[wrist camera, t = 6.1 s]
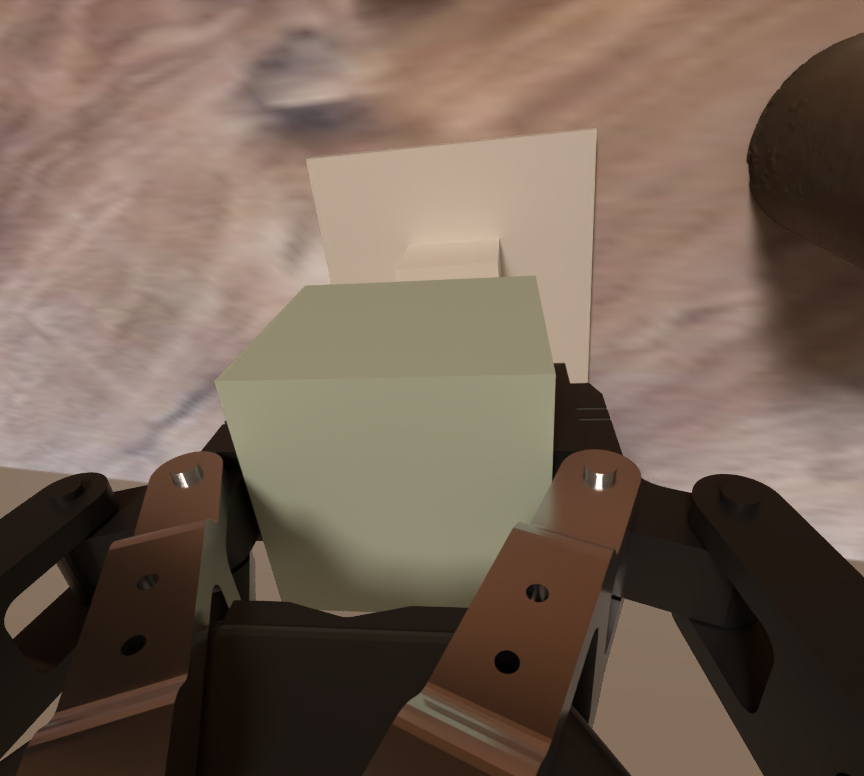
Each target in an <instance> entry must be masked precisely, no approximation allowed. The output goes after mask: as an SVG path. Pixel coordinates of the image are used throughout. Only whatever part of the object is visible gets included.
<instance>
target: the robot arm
mask: <svg viewBox="0 0 864 776" xmlns="http://www.w3.org/2000/svg"><path fill="white" fill-rule="evenodd" d="M554 368H555V373H556V379H555V409H554V438H553V467H552V483H551V485H550V487H549V489H548V491H547V493H546V495H545V496H544V498H543V500H542V502H541V504H540V506H539V508H538V510H537V512H536V514H535V516H534V518H533V520H532V522H531V523H530V525H529V524H526V523H523V522H518V523H517V524H516V525H515V526H514V527H513V529H512V530H511V532H510V534H509V536H508V537H507V539H506V541H505V543H504V545H503V547H502V548H501V550H500V552H499V554H498V556H497V557H496V559H495V561H494V563H493V565H492V566H491V568H490V570H489V572H488V574H487V575H486V577H485V579H484V581H483V583H482V585H481V586H480V588H479V590H478V592H477V594H476V595H475V597H474V599H473V601H472V603H471V604H470V606H469V608H462V607H431V606H408V607H403V608H397V609H392V610H387V611H381V612H376V613H371V614H365V615H360V616H355V617H340V616H337V615H333V614H330V613H326V612H323V611H319V610H316V609H313V608H309V607H306V606H302V605H299V604H295V603H292V602H277V601H256V598H255V597H256V593H255V558H254V556H253V552H252V547H253V546H254V544H255V542H256V541H263V538H262V535H261V532H260V529H259V525H258V522H257V519H256V516H255V512H254V509H253V506H252V503H251V499H250V496H249V493H248V490H247V486H246V483H245V480H244V477H243V473H242V470H241V467H240V464H239V460H238V457H237V454H236V451H235V447H234V444H233V441H232V438H231V434H230V431H229V428H228V425H227V421H225V424H223V425H222V426H221V427H220V428H219V430H218V431H217V432H216V433H215V435H214V436H213V437H212V438H211V440H210V441H209V442H208V443H207V444H206V446H205V447H204V448H203V449H202V451H200V452H192V453H187V454H184V455H181V456H178V457H176V458H173V459H171V460H169V461H167V462H166V463H164V464H163V465H161V466H160V467H159V468H158V469H156V471H155V472H154V473H153V474H152V475H151V477H150V480H149V483H148V485H146V486H141V487H136V488H131V489H126V490H121V491H116V492H113V491H112V488H111V486H110V484H109V482H108V480H107V478H106V477H105V476H104V475H102V474H100V473H93V472H91V473H80V474H76V475H72V476H69V477H66V478H63V479H61V480H58V481H56V482H54V483H52V484H50V485H48V486H47V487H45V488H44V489H42V490H41V491H39V492H38V493H36V494H35V495H34V496H32V497H31V498H29V499H28V500H27V501H25V502H24V503H22V504H21V505H20V506H18V507H17V508H15V509H14V510H12V511H11V512H10V513H8V514H7V515H5V516H4V517H3V518H1V519H0V759H1V758H2V757H3V755H4V754H5V753H6V752H7V751H8V750H9V749H10V748H11V747H12V745H13V744H14V743H15V742H16V741H17V740H18V739H19V738H20V737H21V736H22V735H23V734H24V733H25V731H26V730H27V729H28V728H29V727H30V726H31V725H32V724H33V723H34V722H35V721H36V719H37V718H38V717H39V716H40V715H41V714H42V713H43V712H44V711H45V710H46V708H47V707H48V706H49V705H50V704H51V703H52V702H53V701H54V700H55V699H56V698H57V697H58V695H59V694H60V693H61V692H62V693H61V697H60V699H59V703H58V706H57V709H56V711H55V714H54V716H53V718H52V719H51V720H50V722H49V723H48V724H47V725H45V726H43V727H42V728H40V729H39V730H38V731H37V732H36V733H35V734H34V736H33V737H32V739H31V740H30V741H28V742H27V743H25V744H24V745H23V746H21V747H20V748H18V749H17V750H16V751H14V752H13V753H12V754H10V755H9V756H7V757H6V758H5V759H3V760H2V761H0V776H631V775H630V774H629V772H628V771H627V770H626V769H625V768H624V766H623V765H622V764H621V763H620V762H619V761H618V759H617V758H616V757H615V756H614V755H613V753H612V752H611V751H610V750H609V749H608V747H607V746H606V745H605V744H604V743H603V741H602V740H601V739H600V738H599V737H598V735H597V734H596V733H595V732H594V731H593V729H592V728H593V724H594V719H595V715H596V711H597V706H598V702H599V697H600V691H601V686H602V681H603V676H604V672H605V668H606V664H607V660H608V657H609V653H610V649H611V645H612V642H613V638H614V634H615V631H616V628H617V624H618V620H619V616H620V613H621V609H622V606H623V602H624V598H625V599H629V600H632V601H635V602H639V603H642V604H646V605H649V606H652V607H656V608H659V609H662V610H666V611H669V612H671V613H672V616H673V618H674V620H675V622H676V624H677V626H678V628H679V629H680V631H681V633H682V635H683V636H684V638H685V640H686V641H687V643H688V645H689V647H690V648H691V650H692V652H693V654H694V655H695V657H696V659H697V661H698V662H699V664H700V666H701V668H702V669H703V671H704V673H705V674H706V676H707V678H708V680H709V682H710V683H711V685H712V687H713V688H714V690H715V692H716V694H717V695H718V697H719V698H720V701H721V702H722V704H723V706H724V708H725V709H726V711H727V713H728V715H729V716H730V718H731V720H732V721H733V723H734V725H735V727H736V728H737V730H738V732H739V734H740V735H741V737H742V739H743V741H744V742H745V744H746V746H747V748H748V749H749V751H750V753H751V754H752V756H753V758H754V760H755V761H756V763H757V765H758V767H759V768H760V770H761V772H762V773H763V775H764V776H864V577H863V576H862V575H861V574H860V573H859V572H858V571H857V570H856V569H855V568H854V567H853V566H852V565H851V564H850V563H849V562H848V561H847V560H846V559H845V558H844V557H843V556H842V555H841V554H840V553H839V552H837V551H836V550H835V549H834V548H833V547H832V546H831V545H830V544H829V543H828V542H827V541H826V540H825V539H824V538H823V537H822V536H821V535H820V534H819V533H818V532H817V531H816V530H815V529H814V528H813V527H812V526H811V525H810V524H809V523H808V522H807V521H806V520H805V519H804V518H803V517H802V516H801V515H800V514H799V513H798V512H797V511H796V510H795V509H794V508H793V507H792V506H791V505H790V504H788V503H787V502H786V501H785V500H784V499H783V498H782V497H781V496H780V495H779V494H778V493H777V492H776V491H774V490H773V489H771V488H770V487H768V486H767V485H765V484H763V483H761V482H758V481H756V480H753V479H750V478H747V477H743V476H738V475H731V474H716V475H710V476H707V477H704V478H702V479H700V480H699V481H698V482H696V483H695V485H694V487H693V490H692V493H689V492H684V491H679V490H675V489H670V488H666V487H662V486H658V485H655V484H653V483H650V482H648V481H646V480H644V479H642V478H641V473H640V470H639V468H638V467H637V466H636V465H635V464H634V463H633V462H632V461H631V460H629V459H628V458H626V457H624V456H623V454H622V451H621V449H620V446H619V443H618V440H617V437H616V434H615V431H614V428H613V425H612V422H611V420H610V416H609V413H608V410H607V409H606V404H605V401H604V398H603V395H602V394H601V393H600V392H599V391H598V390H597V389H595V388H594V387H593V386H592V385H591V384H590V383H570V381H569V377H568V373H567V369H566V365H565V363H554ZM55 564H57V566H58V567H59V569H60V571H61V572H62V574H63V576H64V578H65V580H66V581H67V583H68V585H69V588H68V589H67V590H66V591H65V592H64V593H62V594H61V595H60V596H59V597H58V598H57V599H56V600H55V601H54V602H53V603H52V604H50V605H49V606H48V607H47V608H46V609H45V610H44V611H43V612H42V613H41V614H40V615H38V616H37V617H36V618H35V619H34V620H33V621H32V622H31V623H30V624H29V625H28V626H27V627H25V628H24V629H23V630H22V631H21V632H20V633H19V634H18V635H17V636H16V637H15V638H14V639H12V638H11V636H10V635H9V633H8V632H7V630H6V628H5V625H4V617H5V613H6V611H7V609H8V607H9V605H10V604H11V603H12V602H13V600H14V599H15V598H16V597H17V596H19V595H20V594H21V593H22V592H23V591H24V590H26V589H27V588H28V587H29V586H30V585H31V584H33V583H34V582H35V581H36V580H37V579H38V578H40V577H41V576H42V575H43V574H44V573H45V572H47V570H49V569H50V568H51V567H52V566H54V565H55Z"/></svg>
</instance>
